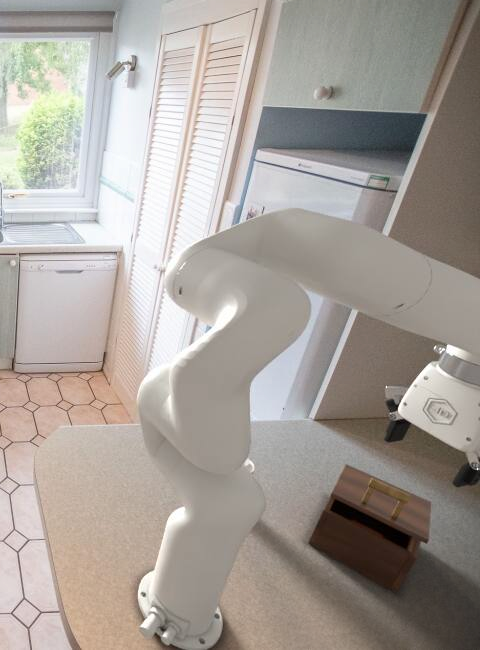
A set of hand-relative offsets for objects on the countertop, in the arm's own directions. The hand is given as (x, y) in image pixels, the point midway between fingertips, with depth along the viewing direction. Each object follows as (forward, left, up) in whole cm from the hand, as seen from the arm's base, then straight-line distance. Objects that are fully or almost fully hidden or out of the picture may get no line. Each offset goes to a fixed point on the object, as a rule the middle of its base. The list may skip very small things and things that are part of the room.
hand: (425, 461), depth 71 cm
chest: (+5, +2, -24) cm, 25 cm away
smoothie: (-3, +23, -24) cm, 34 cm away
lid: (+4, +2, -14) cm, 15 cm away
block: (+1, +2, -24) cm, 24 cm away
